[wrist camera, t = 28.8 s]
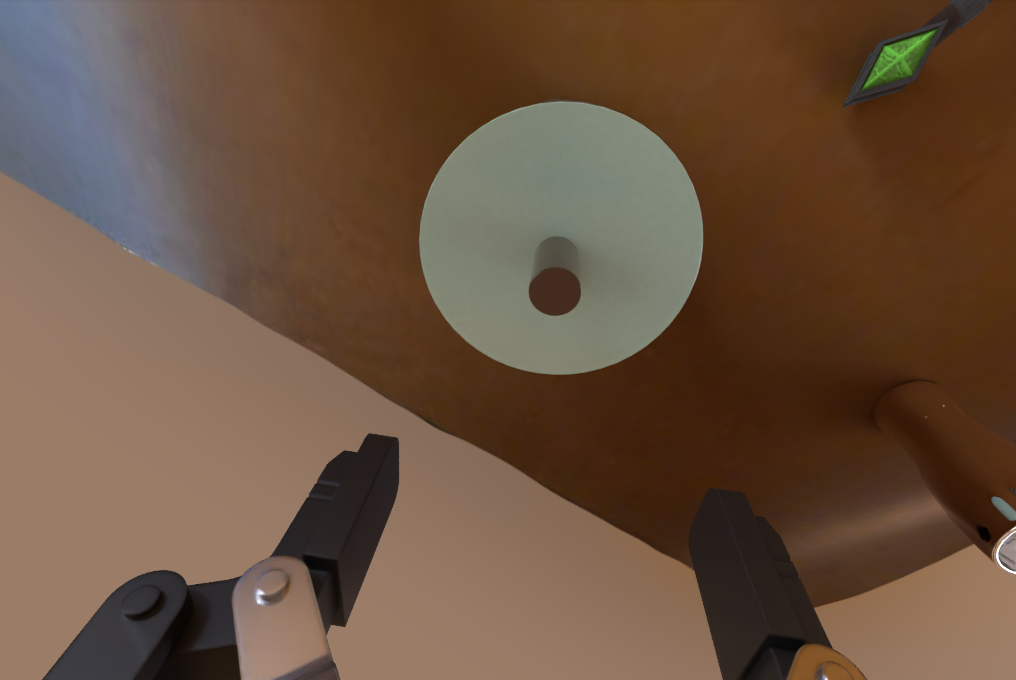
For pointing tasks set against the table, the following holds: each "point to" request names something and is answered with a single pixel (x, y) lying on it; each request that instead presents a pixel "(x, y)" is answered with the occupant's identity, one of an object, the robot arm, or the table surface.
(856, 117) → the table surface
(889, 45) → the war hammer
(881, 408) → the beer glass
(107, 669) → the robot arm
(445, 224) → the pot lid
